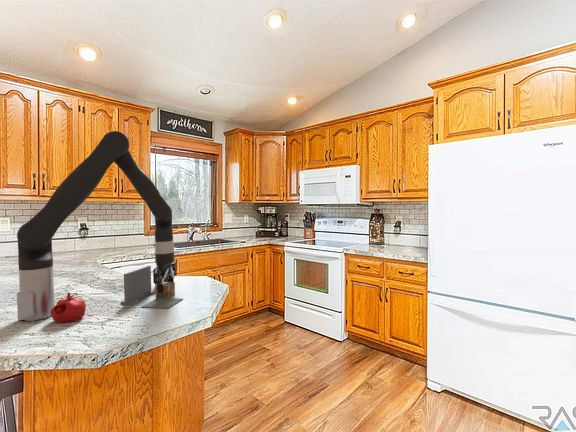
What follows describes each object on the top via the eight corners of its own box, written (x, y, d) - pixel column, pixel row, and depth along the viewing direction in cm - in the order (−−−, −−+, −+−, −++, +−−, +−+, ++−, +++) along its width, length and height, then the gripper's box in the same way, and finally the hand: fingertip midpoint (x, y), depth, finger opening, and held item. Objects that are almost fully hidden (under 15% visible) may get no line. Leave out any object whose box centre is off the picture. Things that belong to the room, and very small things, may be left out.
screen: (132, 305, 119) (131, 274, 118) (120, 304, 119) (119, 273, 119) (155, 293, 135) (154, 265, 134) (144, 292, 135) (144, 265, 135)
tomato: (80, 312, 111) (80, 287, 111) (91, 318, 105) (90, 291, 105) (46, 320, 104) (46, 292, 104) (55, 327, 97) (55, 297, 97)
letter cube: (168, 298, 127) (167, 285, 126) (155, 298, 127) (155, 284, 127) (175, 294, 132) (174, 281, 132) (163, 294, 133) (162, 281, 133)
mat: (168, 308, 114) (168, 307, 114) (141, 307, 116) (141, 306, 115) (182, 299, 125) (182, 298, 125) (157, 298, 126) (157, 297, 126)
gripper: (163, 254, 122) (165, 295, 122) (181, 249, 136) (182, 285, 136) (146, 254, 123) (147, 294, 123) (165, 249, 137) (166, 285, 137)
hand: (166, 289), depth 130 cm, fingers open, 8 cm apart
